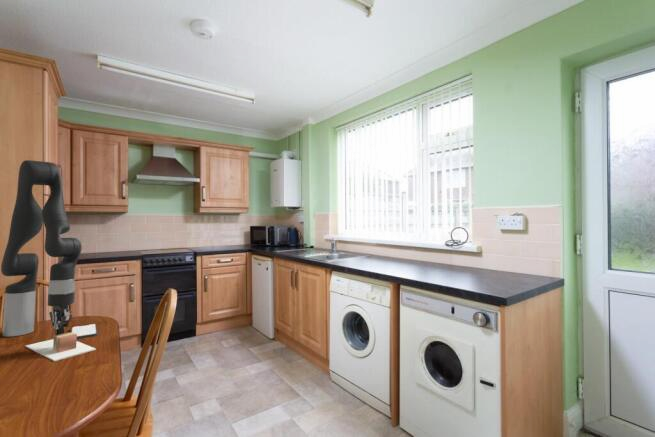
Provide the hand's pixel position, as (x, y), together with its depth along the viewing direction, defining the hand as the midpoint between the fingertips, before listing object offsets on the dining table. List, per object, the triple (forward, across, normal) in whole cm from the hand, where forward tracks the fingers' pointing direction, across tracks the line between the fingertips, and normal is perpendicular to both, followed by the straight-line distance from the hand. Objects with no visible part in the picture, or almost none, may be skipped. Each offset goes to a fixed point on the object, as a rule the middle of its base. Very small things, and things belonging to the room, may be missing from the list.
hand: (59, 338), depth 115 cm
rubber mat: (+3, +1, 0) cm, 3 cm away
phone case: (+4, -12, +13) cm, 18 cm away
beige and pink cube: (0, +2, 0) cm, 2 cm away
